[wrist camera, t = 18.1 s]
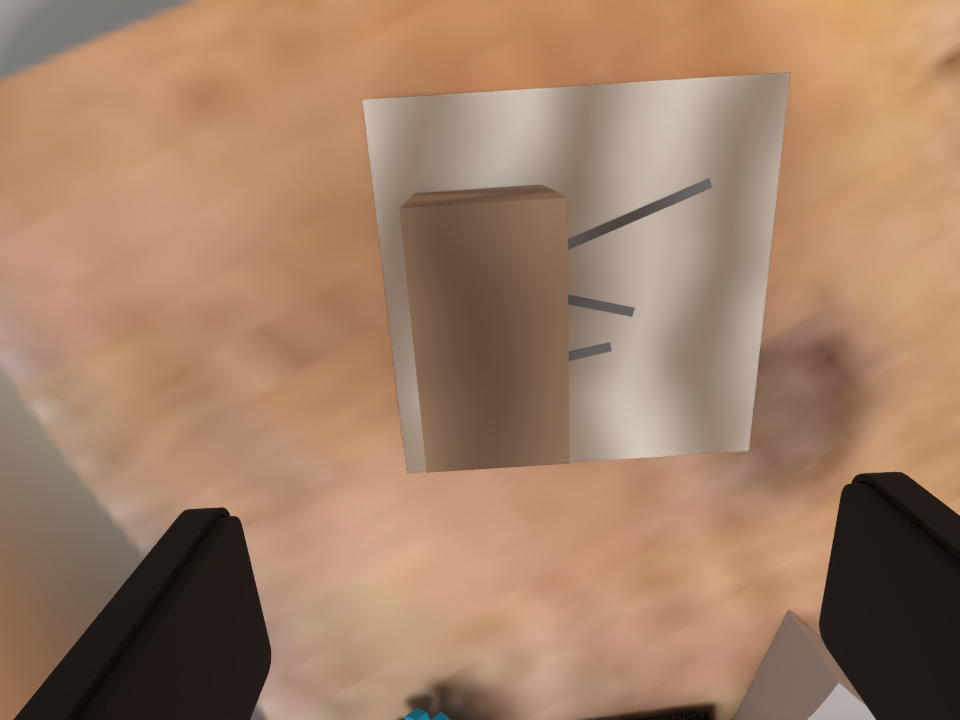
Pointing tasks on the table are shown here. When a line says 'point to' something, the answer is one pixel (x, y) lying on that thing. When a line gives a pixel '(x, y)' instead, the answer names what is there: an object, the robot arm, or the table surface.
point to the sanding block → (489, 325)
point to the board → (614, 242)
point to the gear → (424, 715)
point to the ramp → (800, 681)
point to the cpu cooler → (693, 719)
